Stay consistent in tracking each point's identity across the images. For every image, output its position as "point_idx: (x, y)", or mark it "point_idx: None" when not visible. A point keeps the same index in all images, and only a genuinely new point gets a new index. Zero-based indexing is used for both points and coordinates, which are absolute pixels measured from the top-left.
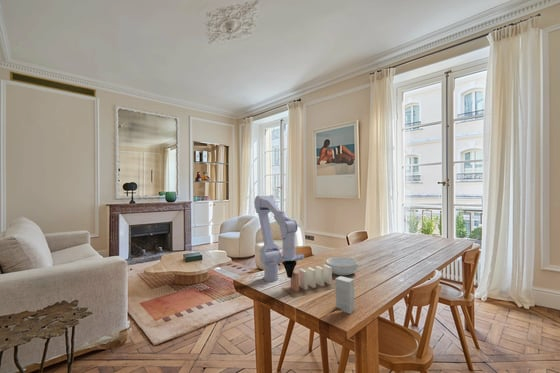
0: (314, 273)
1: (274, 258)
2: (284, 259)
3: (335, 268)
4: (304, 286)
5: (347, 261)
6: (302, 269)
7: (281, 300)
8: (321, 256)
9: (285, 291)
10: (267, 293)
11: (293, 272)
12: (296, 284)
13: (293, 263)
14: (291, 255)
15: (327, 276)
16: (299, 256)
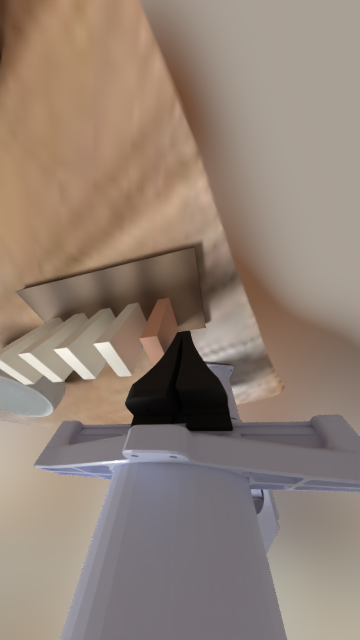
0: (70, 338)
1: (357, 491)
2: (265, 463)
3: None
4: (135, 308)
5: (7, 398)
6: (117, 369)
7: (232, 258)
8: None
9: (201, 307)
10: (251, 319)
11: (163, 352)
12: (162, 309)
13: (155, 391)
14: (159, 546)
15: None
16: (71, 466)
